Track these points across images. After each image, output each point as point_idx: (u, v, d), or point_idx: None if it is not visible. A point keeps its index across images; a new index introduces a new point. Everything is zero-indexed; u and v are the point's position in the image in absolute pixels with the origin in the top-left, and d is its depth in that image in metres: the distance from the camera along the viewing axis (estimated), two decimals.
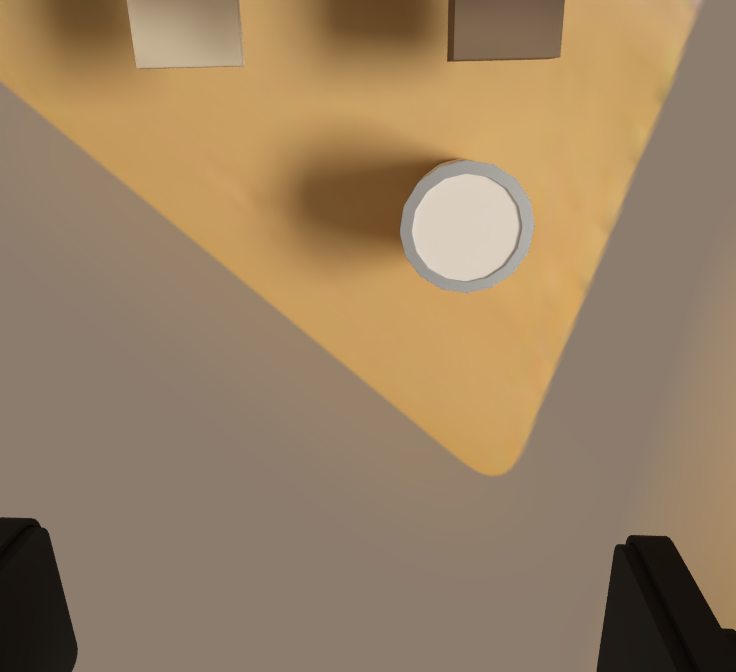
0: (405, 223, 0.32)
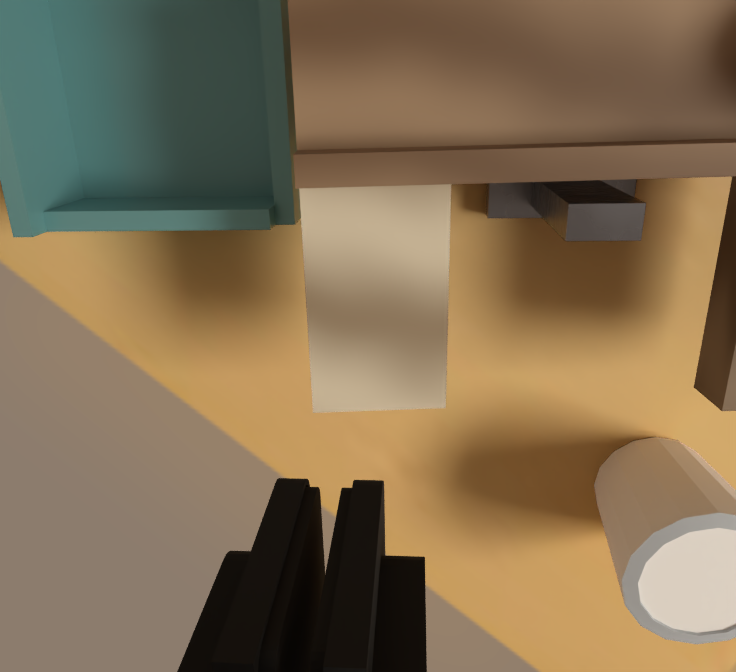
0: (630, 573, 0.26)
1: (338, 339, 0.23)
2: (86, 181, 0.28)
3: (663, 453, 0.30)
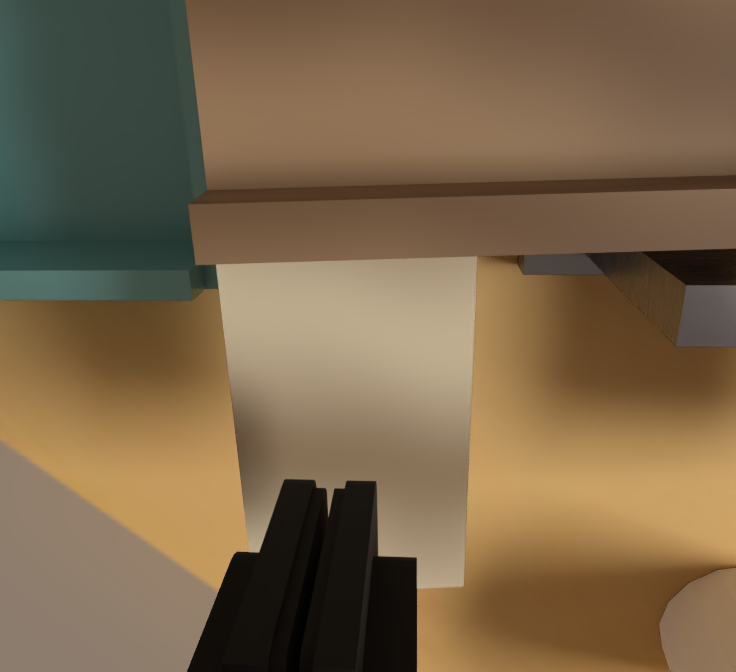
0: None
1: None
2: None
3: None
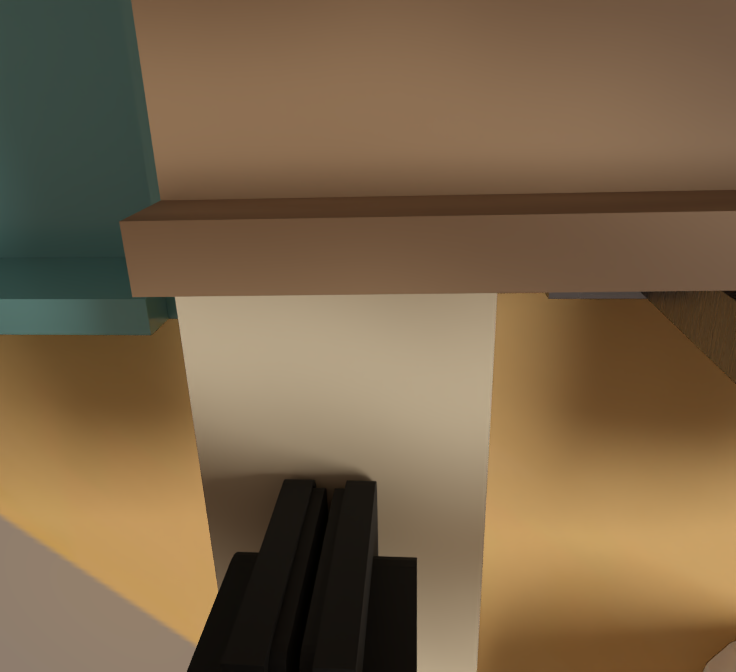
0: None
1: None
2: None
3: None
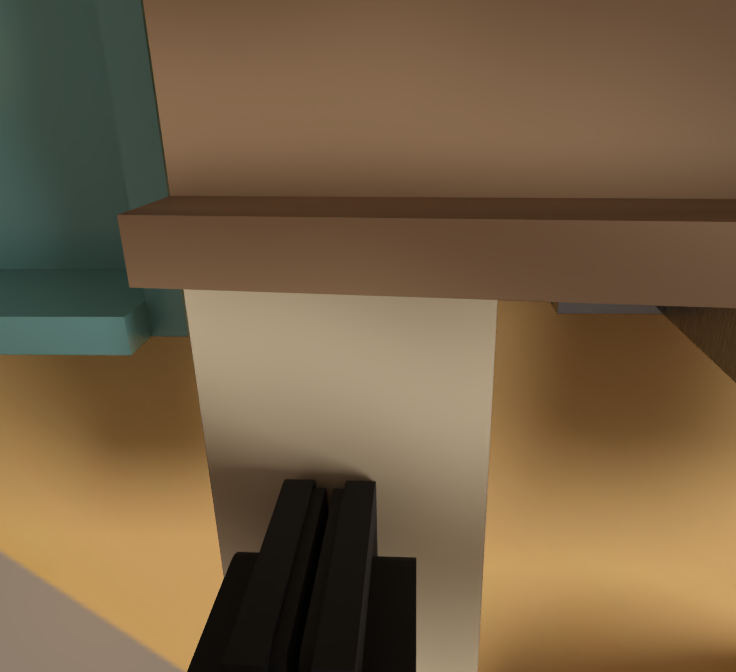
0: None
1: None
2: None
3: None
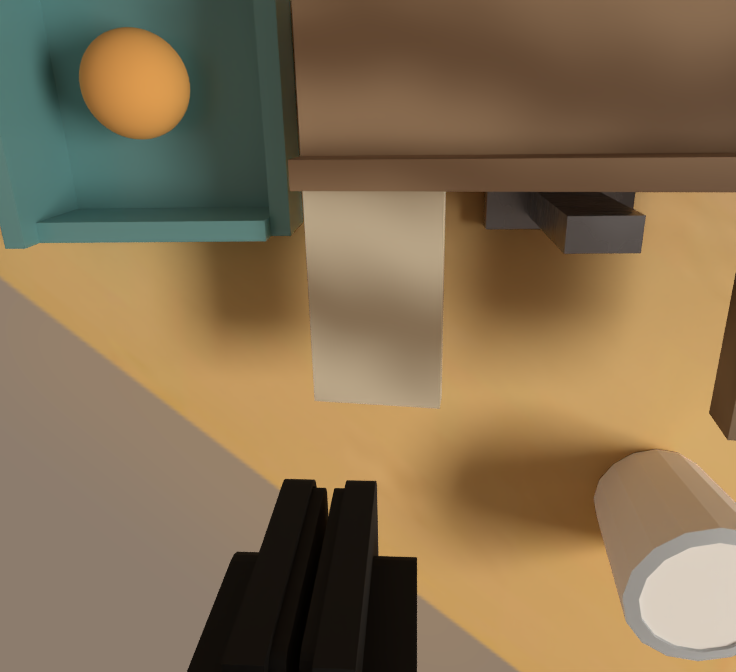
0: (631, 589, 0.26)
1: (338, 334, 0.24)
2: (80, 192, 0.28)
3: (663, 466, 0.29)
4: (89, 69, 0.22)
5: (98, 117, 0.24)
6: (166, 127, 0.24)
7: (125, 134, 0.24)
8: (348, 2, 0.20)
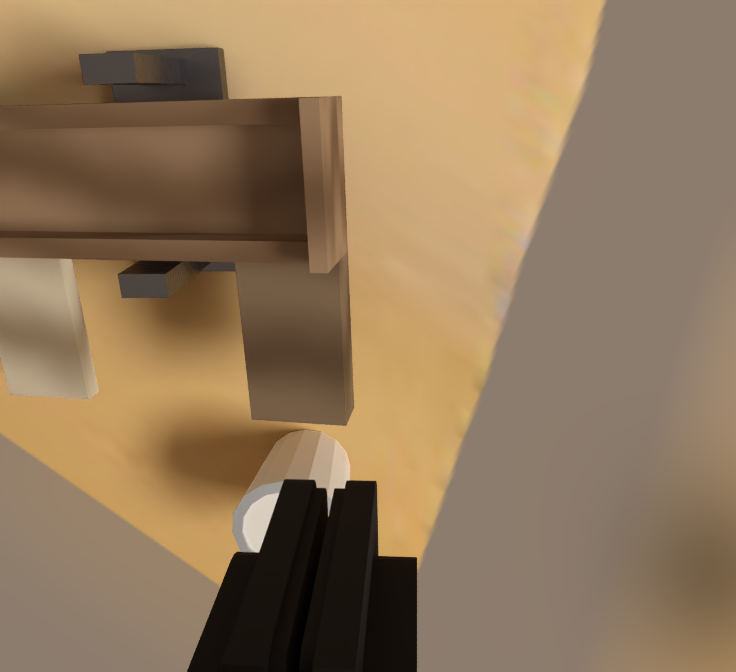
0: (236, 525, 0.37)
1: (14, 348, 0.35)
2: None
3: (296, 441, 0.40)
4: None
5: None
6: None
7: None
8: None
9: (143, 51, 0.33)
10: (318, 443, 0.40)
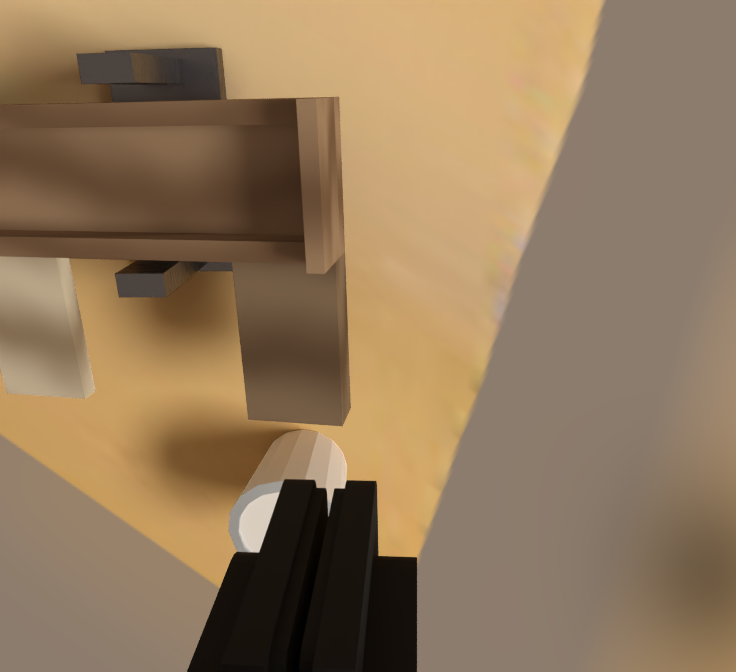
0: (232, 525, 0.37)
1: (11, 347, 0.35)
2: None
3: (293, 441, 0.40)
4: None
5: None
6: None
7: None
8: None
9: (141, 51, 0.33)
10: (315, 443, 0.40)
